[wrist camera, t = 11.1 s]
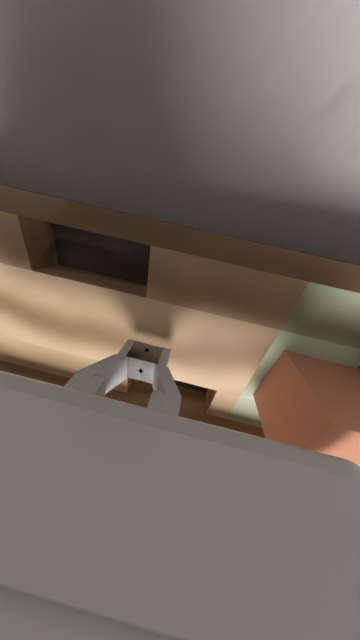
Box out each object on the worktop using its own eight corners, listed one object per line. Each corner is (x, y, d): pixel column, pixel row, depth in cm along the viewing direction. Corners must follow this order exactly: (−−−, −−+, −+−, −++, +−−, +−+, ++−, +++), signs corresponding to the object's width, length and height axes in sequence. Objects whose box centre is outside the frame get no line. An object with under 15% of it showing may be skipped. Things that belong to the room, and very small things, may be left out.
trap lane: (-75, 168, 11) (-226, 134, 7) (410, 276, 10) (536, 305, 6) (5, 346, 19) (-47, 375, 15) (282, 417, 18) (303, 468, 14)
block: (284, 349, 11) (333, 425, 7) (356, 368, 11) (453, 457, 7) (253, 394, 14) (274, 470, 9) (311, 410, 14) (361, 494, 9)
